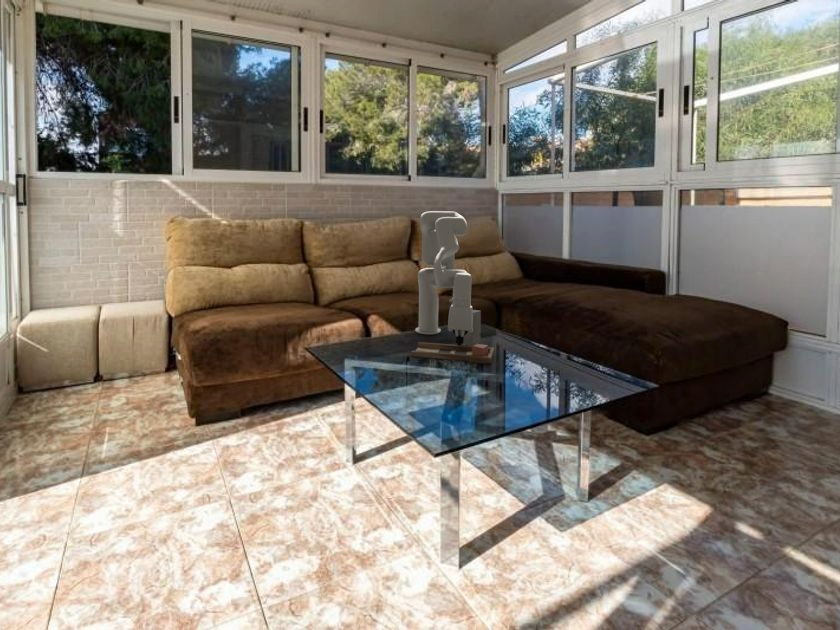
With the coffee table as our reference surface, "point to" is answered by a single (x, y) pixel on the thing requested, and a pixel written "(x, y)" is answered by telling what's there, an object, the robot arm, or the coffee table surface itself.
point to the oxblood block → (480, 350)
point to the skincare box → (474, 330)
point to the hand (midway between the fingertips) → (459, 344)
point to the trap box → (451, 352)
